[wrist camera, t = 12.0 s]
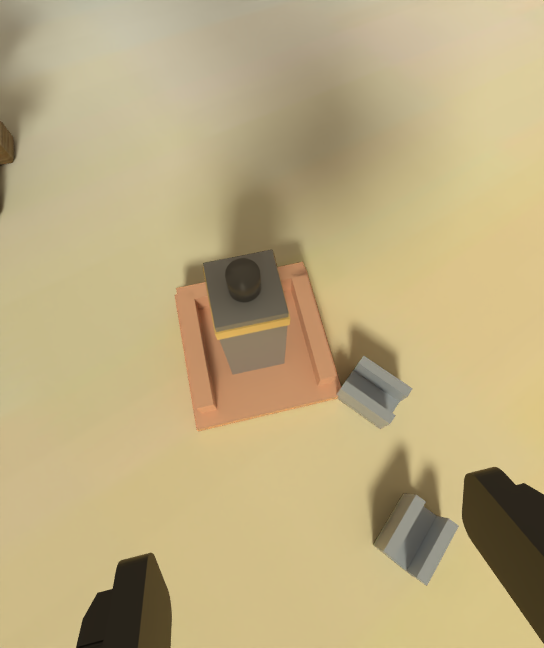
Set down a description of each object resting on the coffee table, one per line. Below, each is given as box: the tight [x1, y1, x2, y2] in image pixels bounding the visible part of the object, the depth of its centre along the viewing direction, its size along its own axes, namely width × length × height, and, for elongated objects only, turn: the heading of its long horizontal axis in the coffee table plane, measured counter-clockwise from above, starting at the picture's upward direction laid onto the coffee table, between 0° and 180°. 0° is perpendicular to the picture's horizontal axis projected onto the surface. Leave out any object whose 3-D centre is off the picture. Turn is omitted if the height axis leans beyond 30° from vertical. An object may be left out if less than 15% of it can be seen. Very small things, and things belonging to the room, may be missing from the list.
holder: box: [175, 262, 341, 431], centre depth 31 cm, size 11×11×3 cm
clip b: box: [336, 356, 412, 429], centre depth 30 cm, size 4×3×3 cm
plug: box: [203, 250, 290, 375], centre depth 27 cm, size 4×4×12 cm
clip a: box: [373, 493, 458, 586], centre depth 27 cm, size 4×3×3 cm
